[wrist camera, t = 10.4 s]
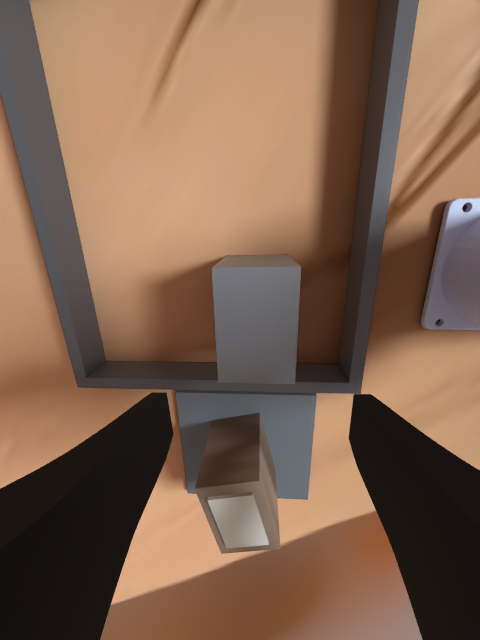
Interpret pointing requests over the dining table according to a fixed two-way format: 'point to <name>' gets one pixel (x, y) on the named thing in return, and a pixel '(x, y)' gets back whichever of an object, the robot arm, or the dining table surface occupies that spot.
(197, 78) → the dining table surface
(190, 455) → the grey mat
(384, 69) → the dark grey rectangular frame
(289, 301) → the plain box
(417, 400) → the dining table surface
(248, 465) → the labelled box
